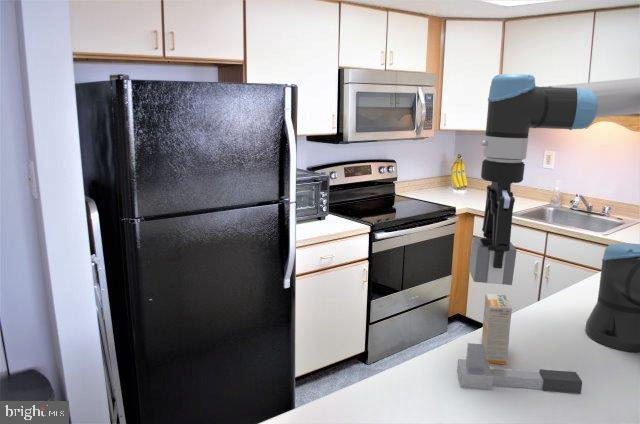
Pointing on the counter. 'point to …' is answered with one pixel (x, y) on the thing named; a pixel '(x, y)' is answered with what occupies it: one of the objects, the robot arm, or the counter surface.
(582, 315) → the counter surface
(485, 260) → the hollow square tube
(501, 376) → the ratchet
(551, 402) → the counter surface
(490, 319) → the supplement box
